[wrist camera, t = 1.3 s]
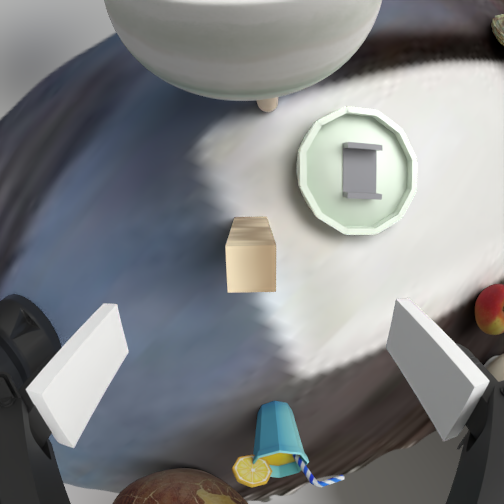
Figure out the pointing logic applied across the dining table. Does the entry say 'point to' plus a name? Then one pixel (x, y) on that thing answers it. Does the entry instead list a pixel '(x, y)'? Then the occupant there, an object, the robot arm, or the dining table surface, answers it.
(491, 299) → the apple
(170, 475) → the vase
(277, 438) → the cup
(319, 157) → the dish
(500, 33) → the seashell
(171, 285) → the dining table surface
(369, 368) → the dining table surface
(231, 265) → the tan wooden block
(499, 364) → the bowl
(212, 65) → the planter
